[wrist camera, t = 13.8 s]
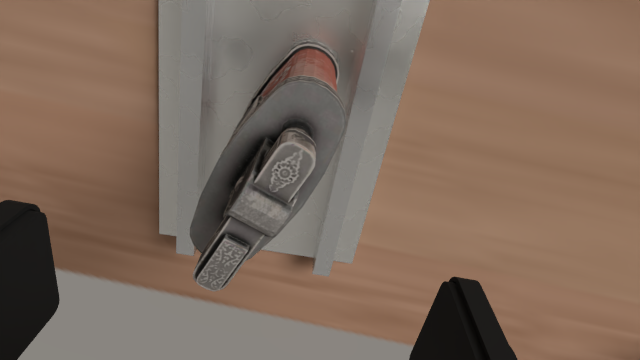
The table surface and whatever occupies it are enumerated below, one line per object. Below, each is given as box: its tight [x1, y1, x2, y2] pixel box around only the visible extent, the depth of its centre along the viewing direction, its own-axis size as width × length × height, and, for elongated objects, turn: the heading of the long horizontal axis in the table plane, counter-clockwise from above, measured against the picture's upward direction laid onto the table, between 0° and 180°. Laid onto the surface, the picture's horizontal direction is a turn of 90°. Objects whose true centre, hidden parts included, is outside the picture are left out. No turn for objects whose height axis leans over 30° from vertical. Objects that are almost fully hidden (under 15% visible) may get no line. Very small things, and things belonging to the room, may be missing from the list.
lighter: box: [190, 41, 347, 291], centre depth 16 cm, size 8×3×10 cm, turn 146°
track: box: [159, 0, 430, 276], centre depth 20 cm, size 12×18×2 cm, turn 169°
